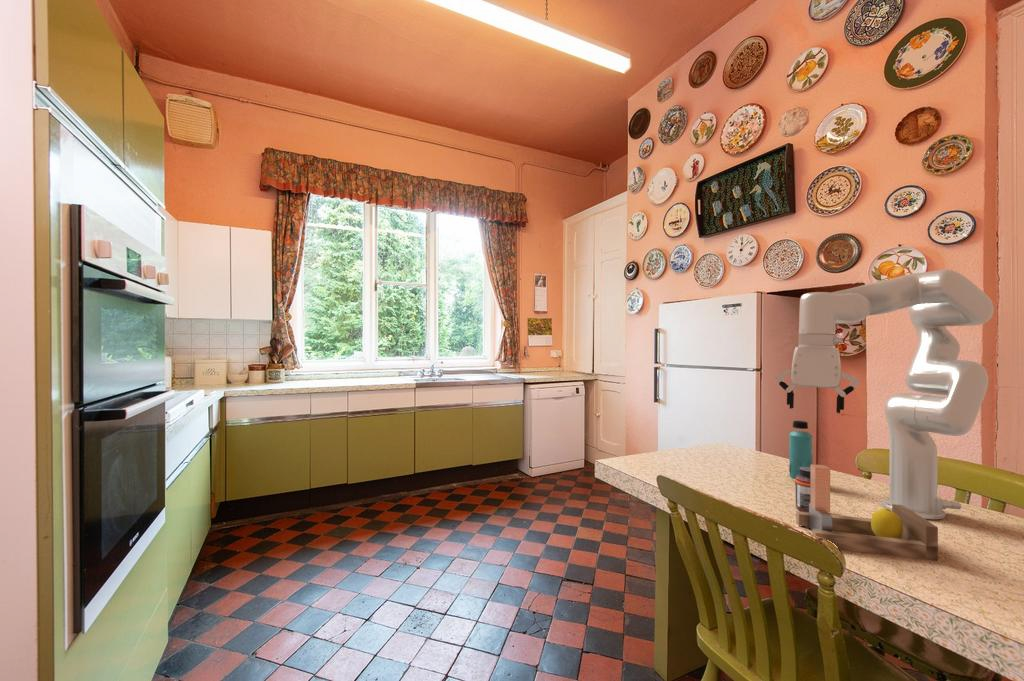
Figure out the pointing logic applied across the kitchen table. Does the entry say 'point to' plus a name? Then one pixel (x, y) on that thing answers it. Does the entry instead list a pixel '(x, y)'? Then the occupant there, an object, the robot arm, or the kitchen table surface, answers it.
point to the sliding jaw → (820, 498)
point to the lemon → (886, 524)
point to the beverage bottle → (799, 449)
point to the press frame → (913, 542)
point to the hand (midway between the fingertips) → (814, 410)
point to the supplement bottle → (803, 489)
